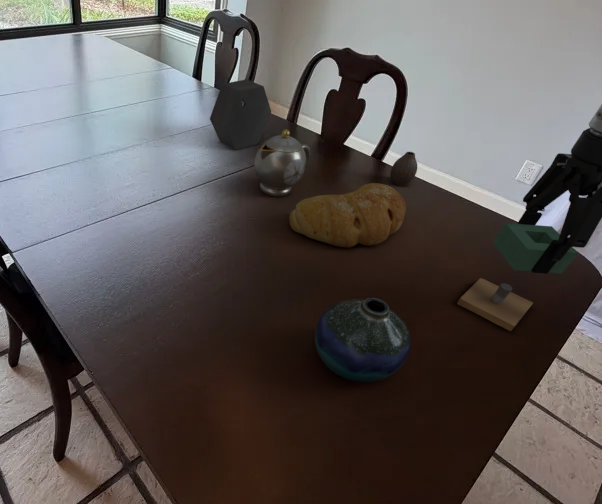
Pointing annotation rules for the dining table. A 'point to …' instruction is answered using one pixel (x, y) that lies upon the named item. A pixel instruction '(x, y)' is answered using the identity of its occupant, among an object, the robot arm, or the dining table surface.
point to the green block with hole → (529, 246)
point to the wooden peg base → (495, 303)
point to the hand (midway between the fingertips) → (526, 256)
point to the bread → (351, 216)
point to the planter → (240, 113)
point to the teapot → (281, 164)
